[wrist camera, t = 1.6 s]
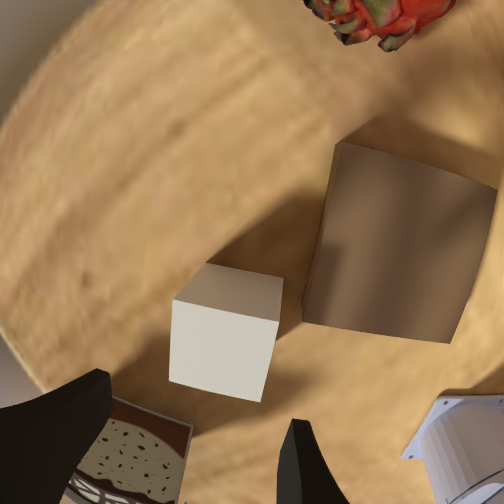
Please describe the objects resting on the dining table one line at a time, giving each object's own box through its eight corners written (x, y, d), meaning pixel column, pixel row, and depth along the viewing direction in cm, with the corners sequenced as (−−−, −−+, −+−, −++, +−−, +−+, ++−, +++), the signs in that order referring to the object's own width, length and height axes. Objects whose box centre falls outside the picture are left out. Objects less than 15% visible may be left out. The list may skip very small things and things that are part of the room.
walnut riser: (473, 185, 17) (497, 189, 14) (434, 323, 20) (449, 343, 17) (334, 145, 18) (341, 141, 15) (301, 300, 21) (302, 321, 18)
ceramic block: (283, 277, 20) (279, 322, 14) (268, 345, 21) (260, 402, 16) (205, 262, 20) (173, 299, 15) (197, 329, 22) (168, 380, 16)
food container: (89, 423, 27) (42, 487, 17) (84, 382, 25) (24, 450, 15) (201, 466, 26) (174, 547, 17) (210, 430, 24) (179, 524, 15)
